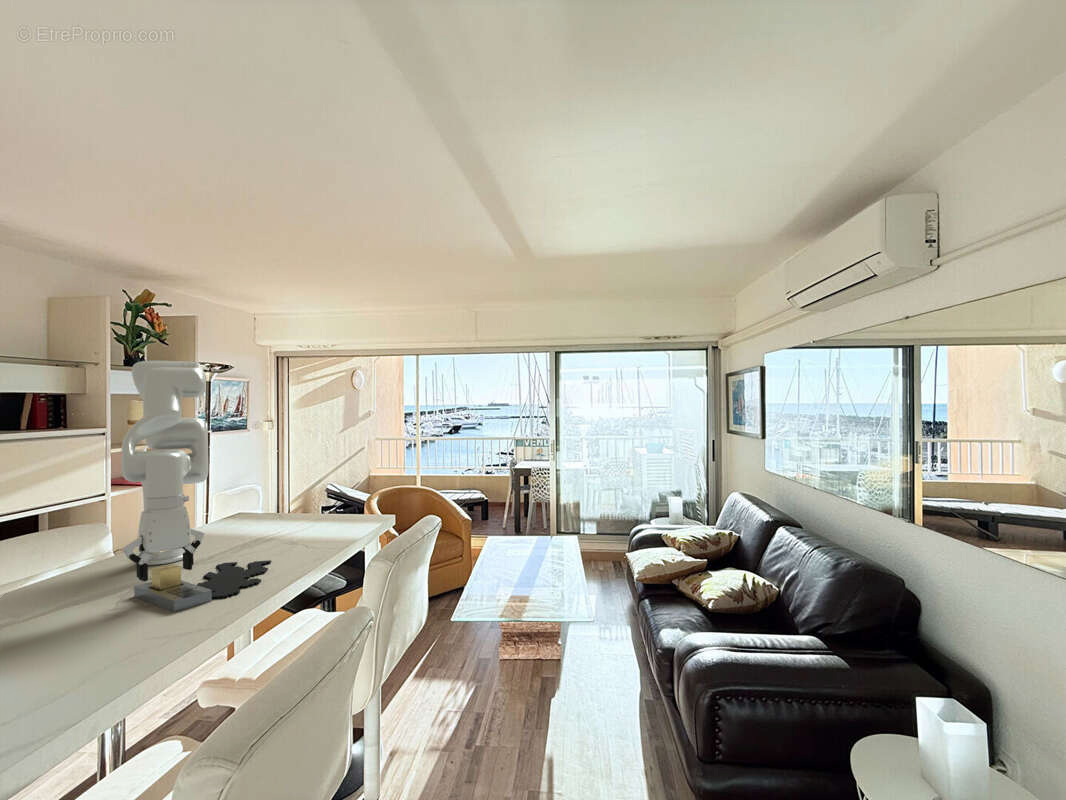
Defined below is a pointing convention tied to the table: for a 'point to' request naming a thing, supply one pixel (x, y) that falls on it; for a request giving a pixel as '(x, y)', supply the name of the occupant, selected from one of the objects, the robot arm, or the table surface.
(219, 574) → the black pixelated cutout
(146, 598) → the rail
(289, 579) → the table surface
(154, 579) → the block
